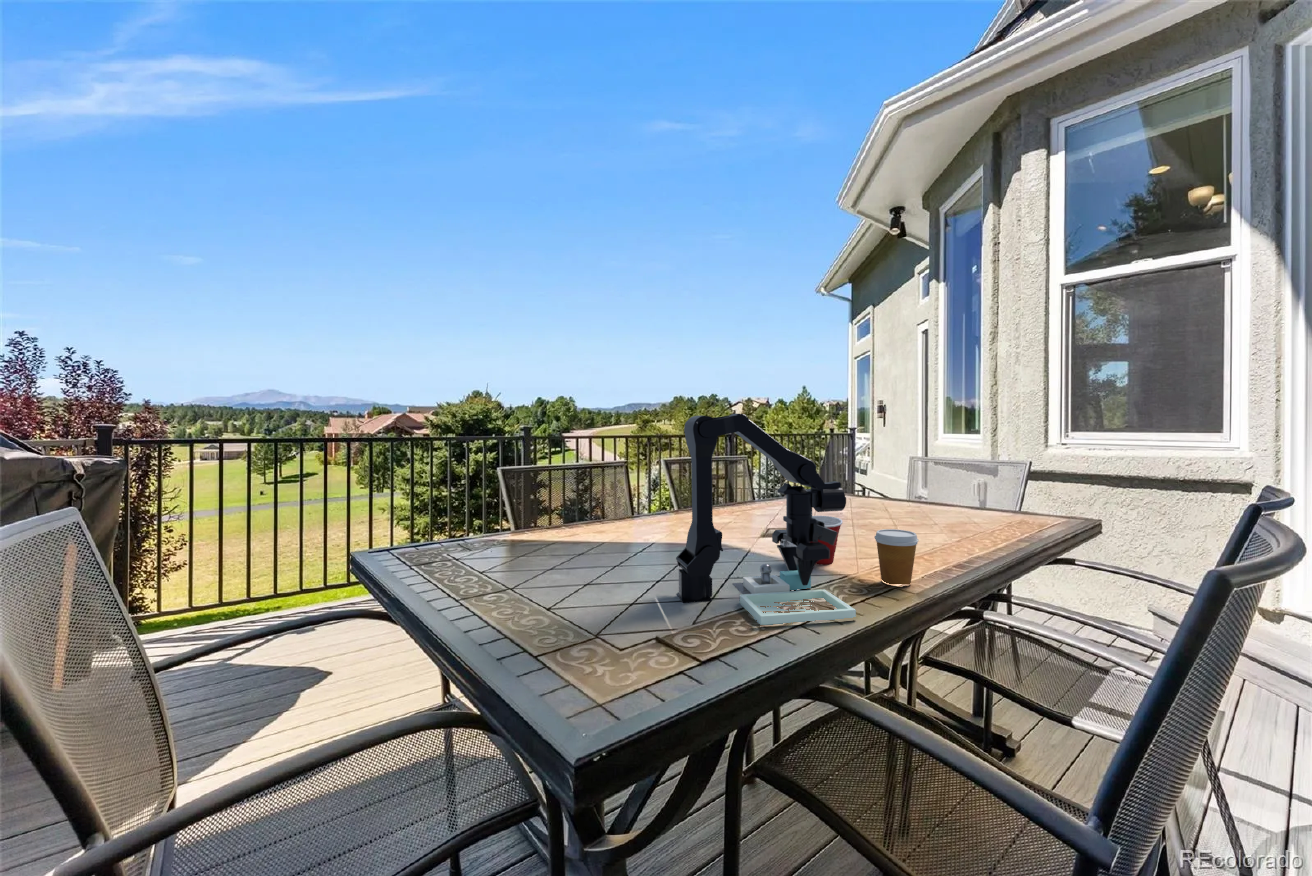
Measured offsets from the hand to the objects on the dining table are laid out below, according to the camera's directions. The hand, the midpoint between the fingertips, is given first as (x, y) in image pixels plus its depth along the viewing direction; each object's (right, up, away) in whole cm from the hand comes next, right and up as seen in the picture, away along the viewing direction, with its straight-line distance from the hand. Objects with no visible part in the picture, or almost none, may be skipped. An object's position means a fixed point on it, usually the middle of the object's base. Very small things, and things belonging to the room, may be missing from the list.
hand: (799, 581), depth 126 cm
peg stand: (-8, -2, -1) cm, 8 cm away
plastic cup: (+12, -1, +22) cm, 25 cm away
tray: (-5, -3, -15) cm, 16 cm away
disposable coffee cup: (+24, -2, +4) cm, 24 cm away
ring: (-5, -2, -1) cm, 5 cm away
